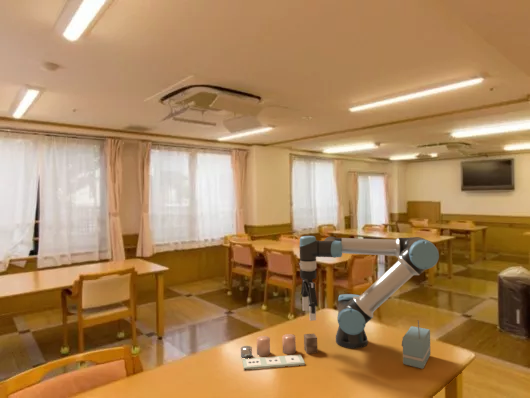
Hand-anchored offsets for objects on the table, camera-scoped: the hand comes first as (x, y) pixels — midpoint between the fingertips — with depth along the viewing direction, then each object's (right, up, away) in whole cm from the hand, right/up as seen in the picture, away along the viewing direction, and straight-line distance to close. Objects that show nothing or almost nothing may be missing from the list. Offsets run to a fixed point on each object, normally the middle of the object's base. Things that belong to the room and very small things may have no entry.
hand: (309, 315), depth 161 cm
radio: (+45, -16, -12) cm, 49 cm away
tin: (-29, -17, -5) cm, 34 cm away
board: (-17, -17, -11) cm, 26 cm away
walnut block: (+1, -17, 0) cm, 17 cm away
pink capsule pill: (-21, -17, -2) cm, 27 cm away
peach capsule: (-9, -17, 0) cm, 19 cm away
